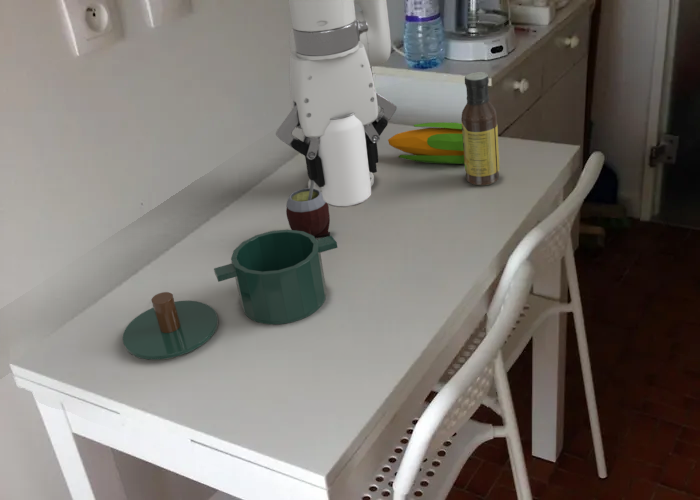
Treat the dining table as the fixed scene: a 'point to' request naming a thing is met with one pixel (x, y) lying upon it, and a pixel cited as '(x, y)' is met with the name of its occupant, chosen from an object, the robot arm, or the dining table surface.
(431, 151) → the corn
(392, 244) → the dining table surface
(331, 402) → the dining table surface
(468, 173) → the sauce bottle
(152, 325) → the pot lid
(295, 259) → the pot
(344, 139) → the can
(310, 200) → the mate gourd
